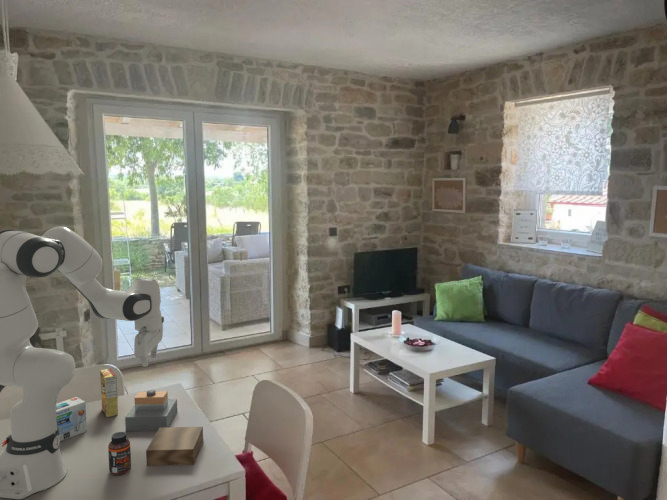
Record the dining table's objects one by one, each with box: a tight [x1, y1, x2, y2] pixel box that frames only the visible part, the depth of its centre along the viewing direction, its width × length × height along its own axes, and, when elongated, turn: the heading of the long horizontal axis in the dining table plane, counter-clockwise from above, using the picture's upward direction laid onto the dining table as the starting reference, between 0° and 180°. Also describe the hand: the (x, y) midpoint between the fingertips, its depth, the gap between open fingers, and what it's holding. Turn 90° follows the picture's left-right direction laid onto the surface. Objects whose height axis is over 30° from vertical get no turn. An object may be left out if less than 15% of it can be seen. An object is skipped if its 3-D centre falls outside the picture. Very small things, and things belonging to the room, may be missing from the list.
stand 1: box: [124, 398, 178, 432], centre depth 175 cm, size 14×14×5 cm
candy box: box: [99, 368, 119, 418], centre depth 181 cm, size 9×4×15 cm, turn 37°
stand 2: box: [145, 426, 204, 467], centre depth 154 cm, size 14×14×5 cm
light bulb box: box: [56, 396, 88, 442], centre depth 165 cm, size 11×7×11 cm, turn 143°
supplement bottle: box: [107, 431, 132, 476], centre depth 144 cm, size 6×6×11 cm
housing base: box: [134, 397, 169, 411], centre depth 174 cm, size 10×5×2 cm, turn 93°
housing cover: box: [134, 389, 169, 405], centre depth 174 cm, size 10×5×4 cm, turn 93°
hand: (149, 361), depth 172 cm, fingers open, 8 cm apart
